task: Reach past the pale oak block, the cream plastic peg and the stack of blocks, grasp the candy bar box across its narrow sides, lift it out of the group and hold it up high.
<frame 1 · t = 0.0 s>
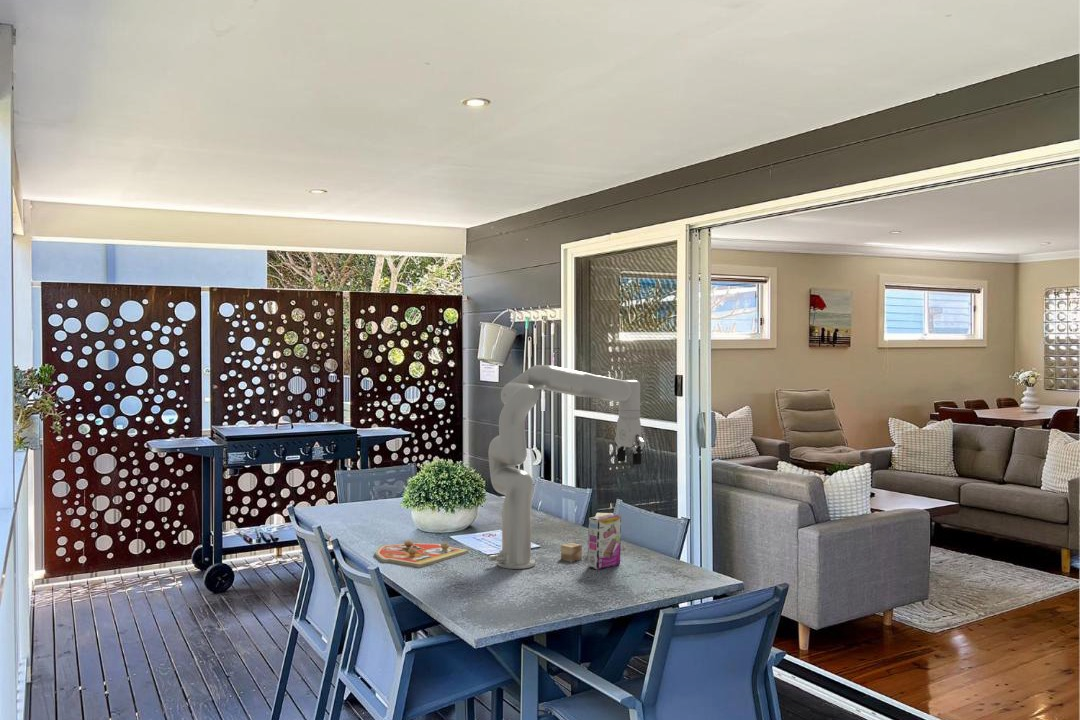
hand: (629, 462, 306), 31 cm above the table, tool pointing down, fingers open, 9 cm apart
cream plastic peg: (600, 556, 297), on the table
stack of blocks: (604, 547, 311), on the table
candy bar box: (604, 566, 283), on the table
oak block: (571, 559, 292), on the table
knob puzzle: (413, 556, 299), on the table
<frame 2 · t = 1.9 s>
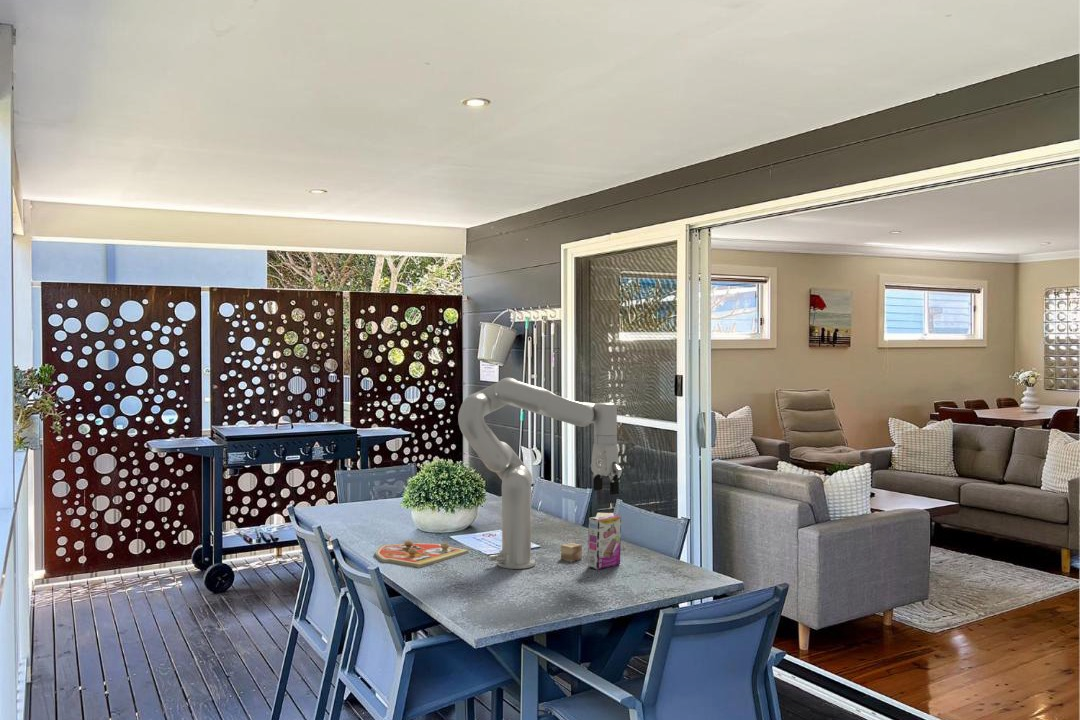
hand: (606, 492, 283), 24 cm above the table, tool pointing down, fingers open, 9 cm apart
nothing on the table moved.
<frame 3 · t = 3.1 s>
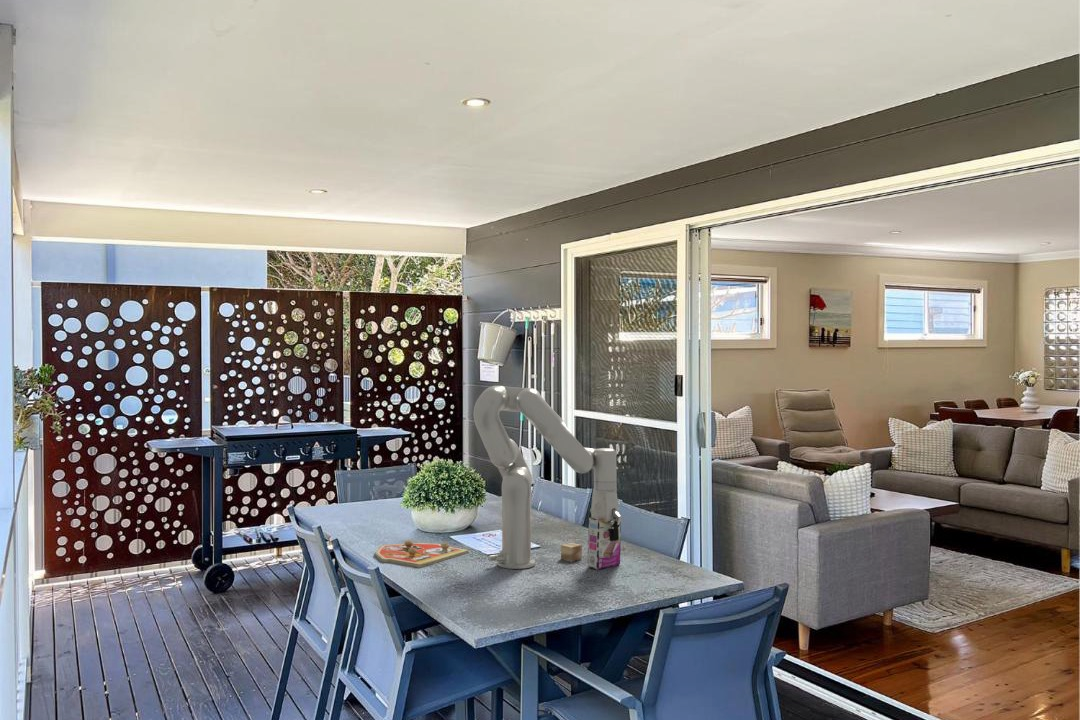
hand: (605, 537, 283), 9 cm above the table, tool pointing down, fingers open, 9 cm apart
nothing on the table moved.
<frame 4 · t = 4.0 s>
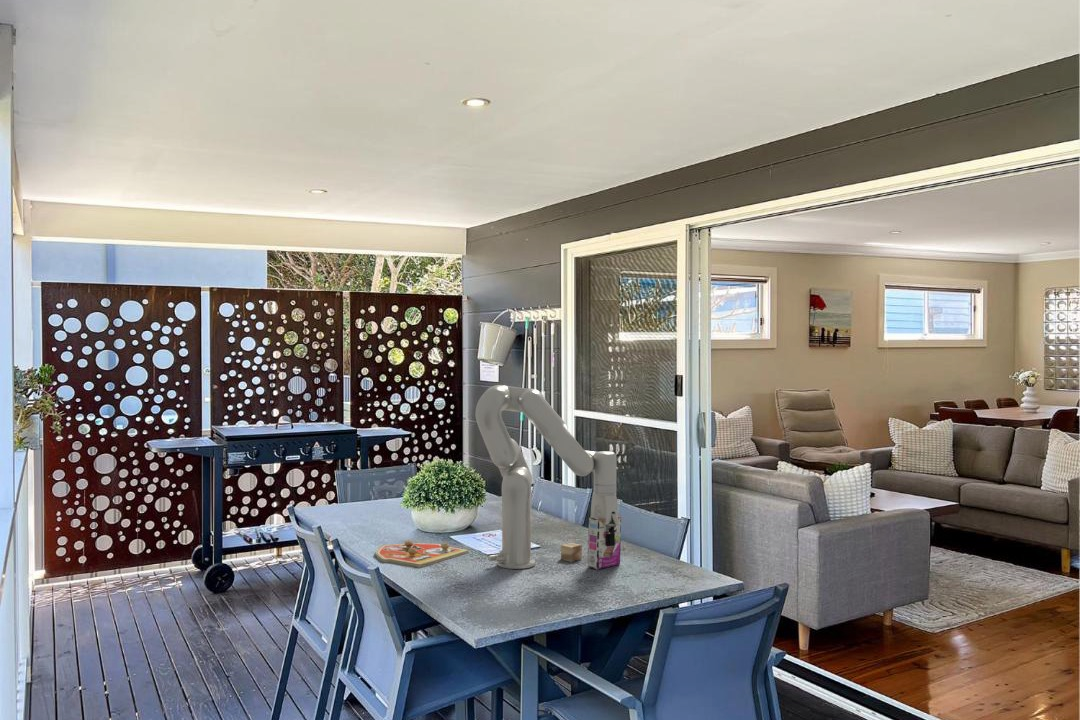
hand: (604, 543, 283), 8 cm above the table, tool pointing down, fingers closed on candy bar box, 5 cm apart
candy bar box: (604, 566, 283), on the table, touching gripper
everything else where it was.
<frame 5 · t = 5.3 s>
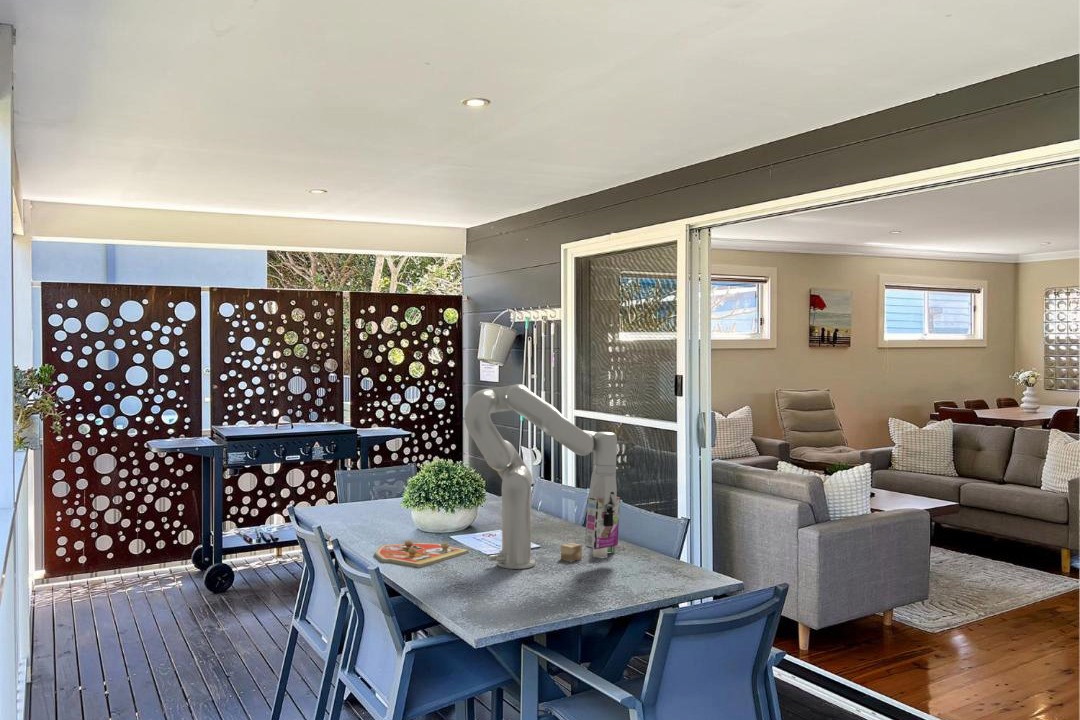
hand: (602, 523, 283), 14 cm above the table, tool pointing down, fingers closed on candy bar box, 5 cm apart
candy bar box: (601, 547, 283), point 6 cm above the table, touching gripper
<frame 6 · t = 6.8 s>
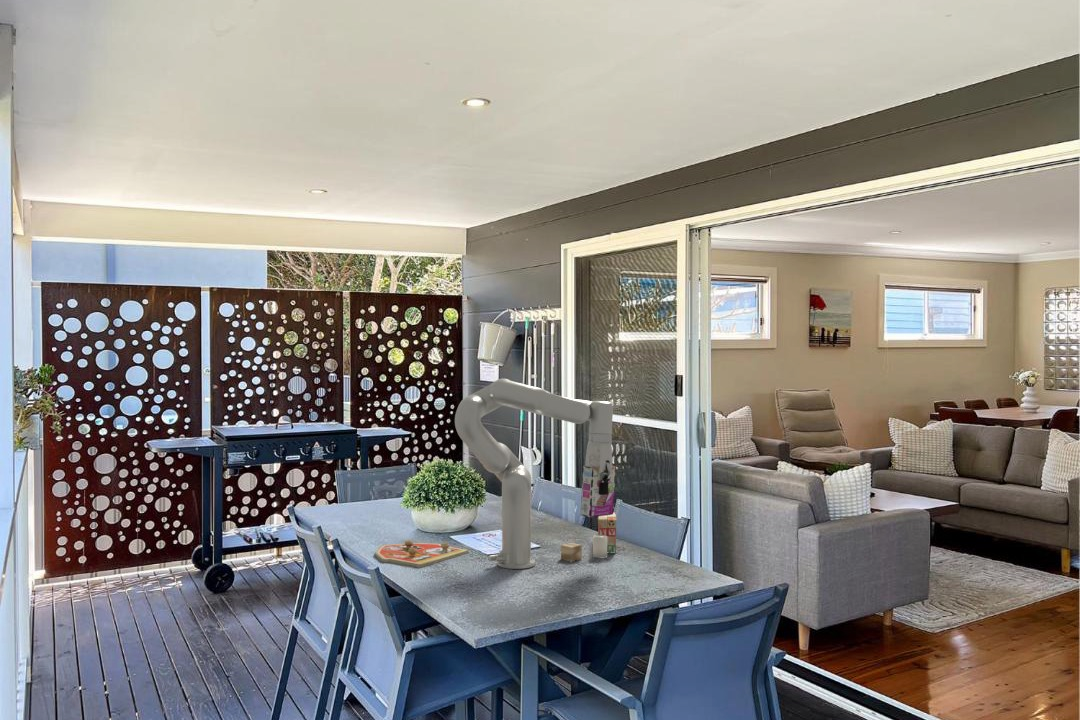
hand: (598, 492, 284), 24 cm above the table, tool pointing down, fingers closed on candy bar box, 5 cm apart
candy bar box: (597, 515, 284), point 16 cm above the table, touching gripper
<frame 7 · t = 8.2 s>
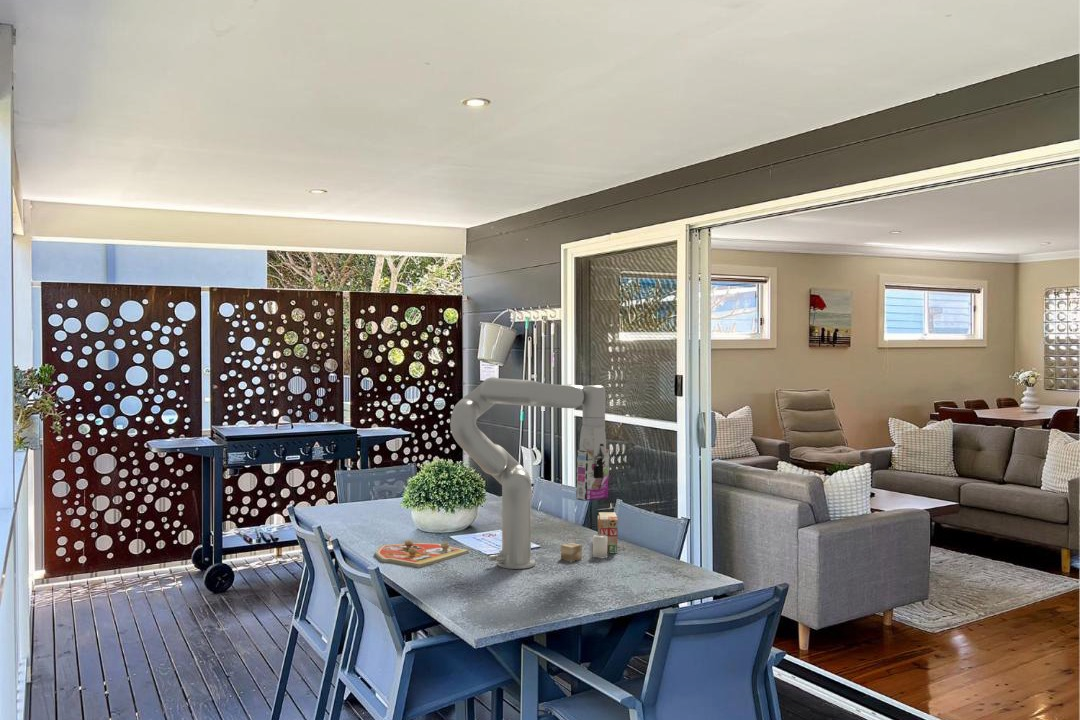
hand: (593, 476, 285), 29 cm above the table, tool pointing down, fingers closed on candy bar box, 5 cm apart
candy bar box: (592, 499, 286), point 22 cm above the table, touching gripper
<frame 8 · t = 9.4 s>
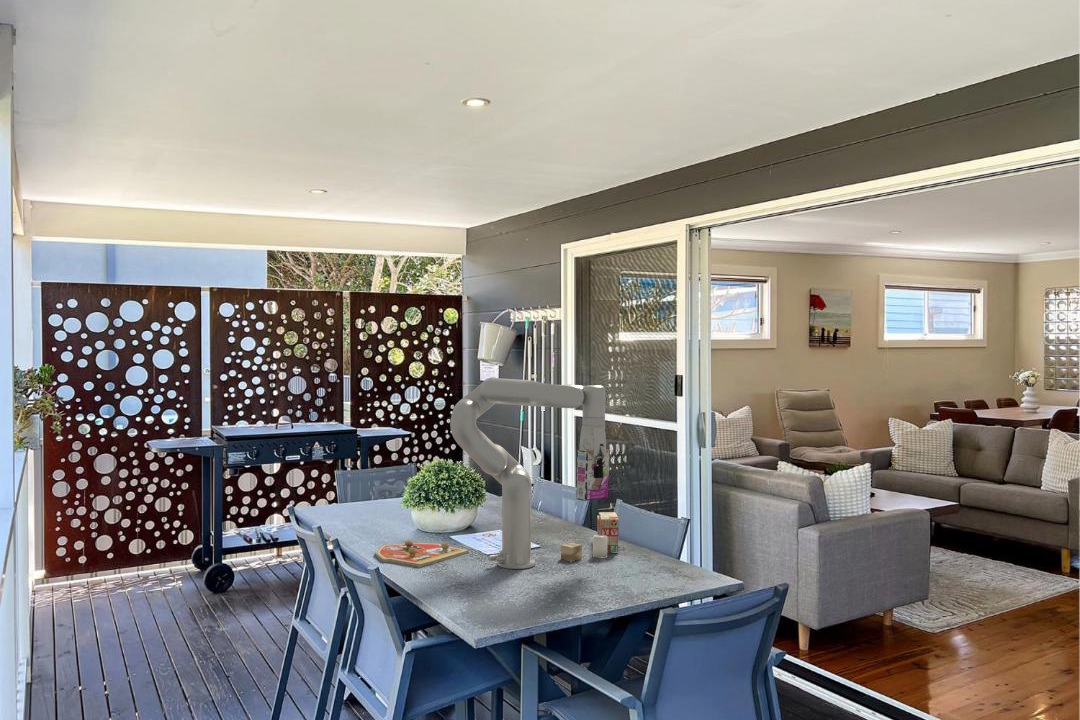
hand: (593, 476, 285), 29 cm above the table, tool pointing down, fingers closed on candy bar box, 5 cm apart
candy bar box: (592, 499, 286), point 22 cm above the table, touching gripper
at the end: candy bar box point 21.6 cm above the table; the gripper is holding candy bar box; oak block moved 0.1 cm from its start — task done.
